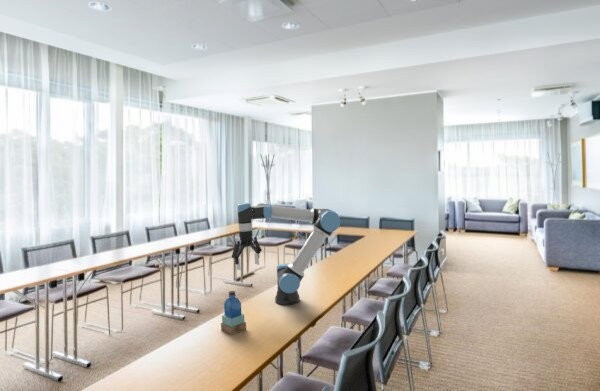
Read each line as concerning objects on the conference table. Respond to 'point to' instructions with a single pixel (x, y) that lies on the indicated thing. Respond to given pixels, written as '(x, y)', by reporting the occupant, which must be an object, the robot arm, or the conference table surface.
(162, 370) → the conference table surface
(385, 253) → the conference table surface
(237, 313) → the perfume bottle
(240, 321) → the teal slab
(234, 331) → the walnut slab
